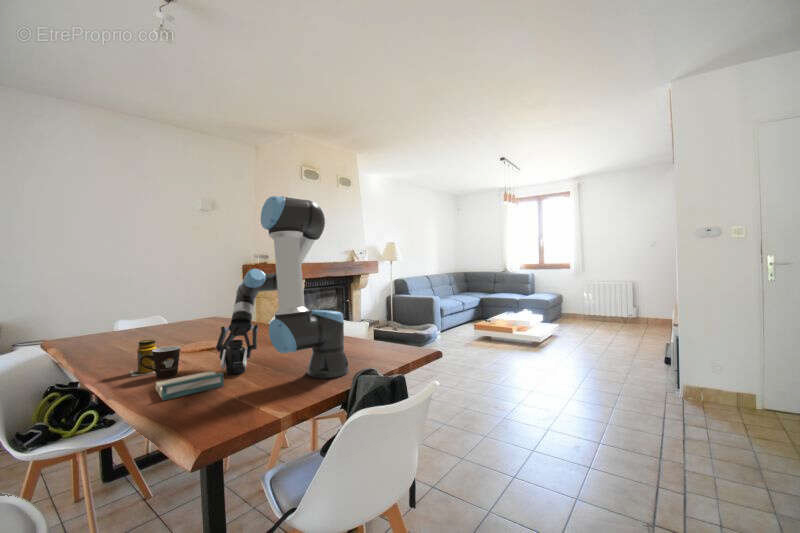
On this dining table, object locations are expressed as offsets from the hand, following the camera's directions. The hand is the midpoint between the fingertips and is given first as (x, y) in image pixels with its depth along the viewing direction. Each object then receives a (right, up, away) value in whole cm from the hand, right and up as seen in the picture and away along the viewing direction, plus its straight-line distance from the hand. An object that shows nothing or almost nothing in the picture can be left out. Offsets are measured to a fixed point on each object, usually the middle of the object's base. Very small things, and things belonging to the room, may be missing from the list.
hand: (233, 365), depth 128 cm
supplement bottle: (-1, -4, +4) cm, 5 cm away
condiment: (-37, -4, +6) cm, 37 cm away
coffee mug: (-26, -4, 0) cm, 27 cm away
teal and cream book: (-9, -4, -12) cm, 15 cm away
